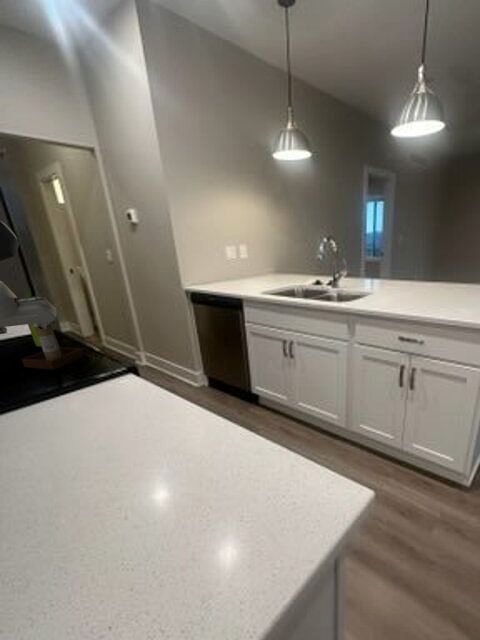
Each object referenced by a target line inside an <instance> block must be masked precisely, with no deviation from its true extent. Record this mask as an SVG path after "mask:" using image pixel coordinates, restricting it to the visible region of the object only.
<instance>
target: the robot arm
mask: <svg viewBox="0 0 480 640" xmlns="http://www.w3.org/2000/svg"><path fill="white" fill-rule="evenodd" d="M19 246H20V241H19V240H18V238H17V236H16V234H15V233H14V231H13V230H12V229H11V227H9V226H8V225H7V224H6V223H5V222H3V221H2V220H0V262H3V261H5V260H9V259H11V258H14V257H16V256H17V253H18V250H19ZM57 316H58V313H57V309H56V307H55V306H54V305H53V304H52V303H51V302H49V301H48V300H47V298H45V297H41V296H35V295H34V296H31V297H25V296H24V297H17V295H16V294H15V293H14V292H13V291H12V290H11V288H9V286H8V285H6V283H4V281H2V280H0V335H5V334H8V327H16V326H25V325H28V324H34V323H38V328H40V329H46V328H47V324H46V323H45V322H51V323H52V322H55V321H56V320H57Z"/></svg>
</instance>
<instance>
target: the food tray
mask: <svg viewBox="0 0 480 640" xmlns="http://www.w3.org/2000/svg"><path fill="white" fill-rule="evenodd" d="M59 349H60V352H61V354H62V356H61V357H59V358H57V359H54V360H52V361H49V360H46V357H45V354H44V352H43V350H41V351H39V352H37V353H34V354H31V355H29V356H26V357H23V358H21V362H22V365H23V367H24V368H29V369H41V370H51V371H55V370H57V369H59V368H62V367H64V366H67V365H68V364H70V363H73V362H75V361H78V360H80V359H81V358H84V357H85V353H84V350H83V348H80V347H79V348H78V347H67V346H66V347H65V346H59ZM83 356H84V357H83Z"/></svg>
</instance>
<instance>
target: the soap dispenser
mask: <svg viewBox="0 0 480 640" xmlns="http://www.w3.org/2000/svg"><path fill="white" fill-rule="evenodd" d="M22 293H23V295H24V297H32V293H31V290H22ZM27 326H28V329H29V331H30V334H31V336H32V340H33V342H34V345H35V347H41V344H40V341H39V338H38V335H37V332H36V330H35V328H34V326H33V324H27Z"/></svg>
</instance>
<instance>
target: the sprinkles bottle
mask: <svg viewBox="0 0 480 640" xmlns="http://www.w3.org/2000/svg"><path fill="white" fill-rule="evenodd" d="M45 323H46V324H47V328H46V329H40V328H38V323H34V324H33V326H34V328H35V330H36V332H37V335H38V338H39V341H40V344H41V346H40V347H41V350H42V351H43V352H44V354H45V357H46V360H49V361H52V360H54V359H57V358H59V357H61V356H62V354H61V352H60V349H59V347H60V345H59V342H58V340H57V337H56V334H55V333H54V329H53V327H52V322H45Z"/></svg>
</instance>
